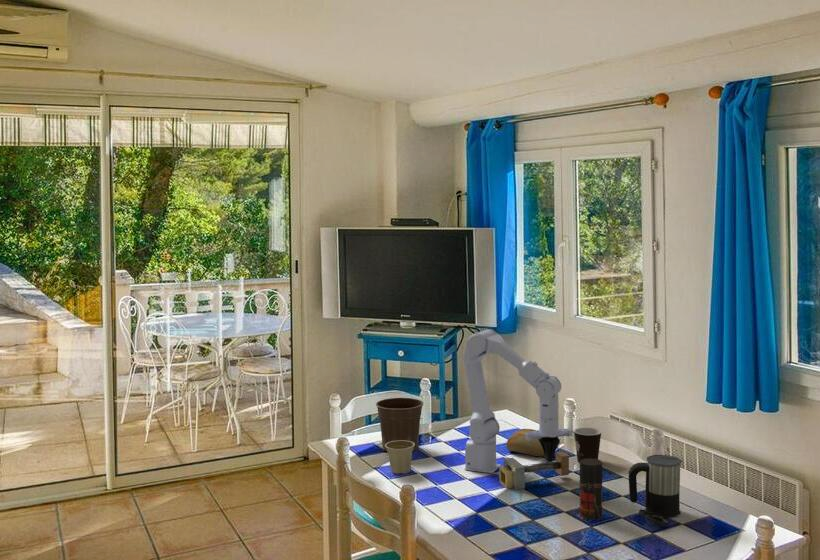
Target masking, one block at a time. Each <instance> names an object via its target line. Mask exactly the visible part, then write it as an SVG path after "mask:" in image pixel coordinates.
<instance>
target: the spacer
mask: <svg viewBox="0 0 820 560" xmlns="http://www.w3.org/2000/svg"><path fill="white" fill-rule="evenodd" d="M498 469H499V471H498V472H499V476H498V477H499V483H500V484H501V485H502V486H503V487H504V488H505V489H514V488H513V471H511V470H510V469H509V468H508V467H507V466H504V465H501V466H499V468H498Z"/></svg>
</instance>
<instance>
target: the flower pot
mask: <svg viewBox="0 0 820 560" xmlns="http://www.w3.org/2000/svg"><path fill="white" fill-rule="evenodd" d="M414 446H415V444H414V443H413V442H411V441H405V440H398V441H391V442H388V443H386V444H385V447H386V449H387V457H388V460H389V465H390V472H391V473H393V474H395V473H396V474H397V475H399V474H408V473H410V472H411V469H412V459H413V452H414V451H413V448H414ZM412 451H413V452H412ZM396 474H395V475H396Z"/></svg>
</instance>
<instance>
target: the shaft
mask: <svg viewBox="0 0 820 560" xmlns="http://www.w3.org/2000/svg"><path fill="white" fill-rule="evenodd" d="M554 458H555V461H552V462H544V463H543V462H542V463H535V464H525V465H524V464H522V465H523V466H524V467H525V474H527V473H534V472H543V471H546V472H547V471H553V470H555V472H556V473H557V474H558V475H560V476H561V477H563V476H570V456H569V455H568V454H567V453H566V452H564V451H555V453H554Z"/></svg>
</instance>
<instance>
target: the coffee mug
mask: <svg viewBox="0 0 820 560" xmlns="http://www.w3.org/2000/svg"><path fill="white" fill-rule="evenodd" d="M573 433H574V441H575V450H576V459H577V463H579V464H580V460H582V459H587V458H592V459H598V460H599V455H600V447H601V438H602V430H601V429H598V428H595V427H579V428H575V429H574V430H573Z"/></svg>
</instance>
